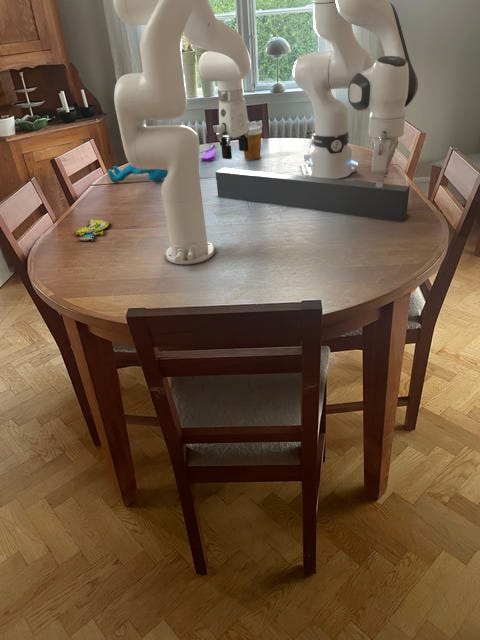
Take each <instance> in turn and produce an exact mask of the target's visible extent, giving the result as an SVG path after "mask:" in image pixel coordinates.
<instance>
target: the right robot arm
mask: <svg viewBox="0 0 480 640" xmlns="http://www.w3.org/2000/svg"><path fill="white" fill-rule="evenodd" d="M312 4H313V6H312V7H313V9H312V10H313V29H314V31H315V33H316V35H317V36H318V37H319V38H320V39H322V40H325V41H327V42H328V43H329V44H330V45H331V47H332V50H327V51H312V52H307V53H305V54H301V55H299V56H298V57H297V59H296V60H295V62H294V65H293V69H292V76H293V80H294V82H295V84H296V85H297V87H298V88H300V89H301V90H302V91H303V92H304V93H305V94H306V95H307V97H308V98H309V100H310V103H311V105H312V108H313V116H314V133H313V132H312V131H310V130H307V132H306V135H308V134H309V135H311V143H310V146H311V147H310V148H309V150H308V151H307V154H304V156H303V161H304V162H303V163H301V170H302V174H303V176H310V177H320V178H331V179H343V178H347V177H348V176H350V175H351V174H352V173H355V172H356V167H354V166H353V165H355V166H358V165H359V162H357V161H355V160H353V153H352V152H353V151H352V147H351V146H350V145H349V140H350V139H349V138H350V135H349V131H348V125H349V124H348V123H349V109H348V107H347V105H346V104H345V103H344V102H342V100H339V99H337V98H335V97H334V95H333V93H332V90H342V89H343V90H345V89H346V90H347V98H348V102H349V104H350V105H351V107H352V108H353V109H354V110H356V111H359V112H368V111H369V119H368V133H367V135H368V137H370V138H372V143H373V149H372V158H371V174H372V175H373V174H374V175H375V183H376V187H377V188H382V187H383V184H384V181H385V178H387V177H388V174H389V168H390V165H391V162H392V160H393V158H394V156H395V153H396V149H397V145H398V144H397V143H398V141H399V138H400V137H403V136H404V133H405V124H406V116H407V115H406V114H407V113H406V107H407V106H409V105H410V104H411V102H412V101H413V100H414V98H416V97H415V96H416V95H417V92H418V90H419V81H418V80H419V79H418V76H417V74H416V72H415V69H414V67H413V64H412V63H411V59H410V56H409V53H408V49H407V44H406V41H405V36H404V32H403V29H402V26H401V22H400V19H399V15H398V12H397V9H396V7H395V6H394V4H393V3H392V2H390V1H389V0H312ZM353 26H356V27H360V28H363V29H365V30H368V31H370V32H371V33H372V34H374V35H376V37H377V38H378V39H379V40H380V41H379V42H381V46H382V50H383V54H384V56H381V57H378V58H377V59H376V60H375V61H374V60H373V56H372V55H371V54H370V52H369V51H368V50H366V49H365V48H364V47H363V46H362V45H361V44H360V43H359V41H358V39H357V37H356V36H355V33H354V29H353Z"/></svg>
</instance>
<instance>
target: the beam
mask: <svg viewBox="0 0 480 640" xmlns="http://www.w3.org/2000/svg"><path fill="white" fill-rule="evenodd" d="M215 180H216V190H217V197H218V198H224V199H232V200H238V201H245V202H246V201H247V202H254V203H262V204H267V205H274V206H282V207H291V208H296V209H297V208H299V209H305V210H313V211H320V212H329V213H334V214H342V215H349V216H350V215H351V216H357V217H365V218H371V219H380V220H387V221H394V222H403V221H404V220H405V218H406V217H407V216H408V215H407V214H408V207H409V200H410V199H409V198H410V189H411V186H410V185H401V184H392V183H391V184H389V183H383V187H382V188H377V187H376V182H370V181H361V180H360V181H358V180H349V179H342V178H339V179H331V178H320V177H310V176H304V175H301V174H300V175H299V174H298V175H297V174H290V173H278V172H270V171H258V170H247V169H240V168H239V169H238V168H229V167H222V168H220V169H218V170H215Z"/></svg>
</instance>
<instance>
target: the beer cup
mask: <svg viewBox="0 0 480 640" xmlns="http://www.w3.org/2000/svg"><path fill="white" fill-rule="evenodd" d="M262 133H263V129H262V126H261V125H259V124H249V132H248V151H243V155H244V159H245V160H248V161H252V160H258V159H260V158H261V147H262V146H261V145H262Z"/></svg>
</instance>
